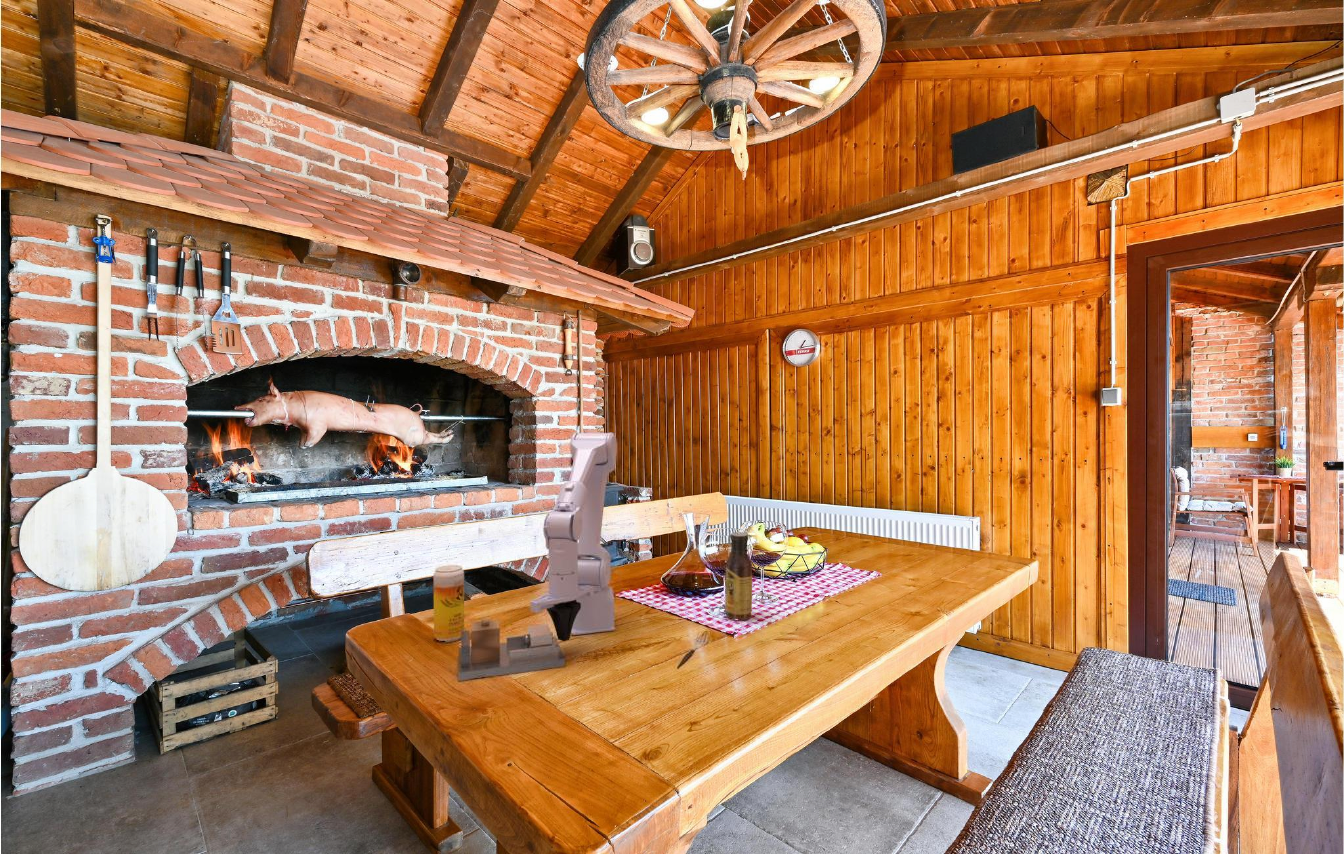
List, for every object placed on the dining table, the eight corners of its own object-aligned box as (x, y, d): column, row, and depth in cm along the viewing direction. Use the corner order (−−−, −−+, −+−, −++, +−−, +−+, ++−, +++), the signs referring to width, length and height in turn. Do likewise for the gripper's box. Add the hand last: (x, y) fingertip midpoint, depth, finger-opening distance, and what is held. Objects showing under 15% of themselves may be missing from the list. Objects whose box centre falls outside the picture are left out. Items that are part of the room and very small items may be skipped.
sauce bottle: (723, 613, 143) (723, 530, 143) (748, 612, 144) (748, 530, 143) (728, 622, 137) (728, 536, 136) (754, 621, 137) (754, 535, 137)
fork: (670, 669, 112) (670, 658, 112) (698, 639, 127) (698, 630, 127) (683, 671, 111) (683, 660, 111) (709, 641, 126) (709, 632, 126)
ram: (547, 641, 120) (547, 624, 120) (552, 652, 115) (551, 634, 115) (522, 644, 119) (522, 626, 119) (525, 655, 113) (525, 637, 113)
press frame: (555, 643, 124) (555, 617, 124) (564, 666, 113) (564, 637, 113) (458, 655, 118) (458, 628, 118) (458, 681, 106) (458, 650, 106)
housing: (498, 649, 117) (498, 613, 117) (499, 659, 112) (499, 621, 112) (471, 653, 115) (471, 616, 115) (471, 663, 110) (471, 624, 110)
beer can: (454, 644, 124) (453, 572, 124) (428, 641, 125) (427, 570, 125) (469, 633, 130) (469, 565, 130) (444, 631, 131) (444, 563, 131)
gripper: (577, 561, 126) (578, 625, 127) (520, 575, 115) (521, 645, 115) (600, 566, 122) (600, 632, 122) (543, 581, 111) (543, 654, 111)
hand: (563, 639), depth 118 cm, fingers closed
